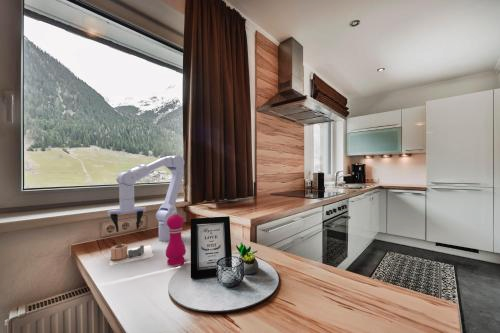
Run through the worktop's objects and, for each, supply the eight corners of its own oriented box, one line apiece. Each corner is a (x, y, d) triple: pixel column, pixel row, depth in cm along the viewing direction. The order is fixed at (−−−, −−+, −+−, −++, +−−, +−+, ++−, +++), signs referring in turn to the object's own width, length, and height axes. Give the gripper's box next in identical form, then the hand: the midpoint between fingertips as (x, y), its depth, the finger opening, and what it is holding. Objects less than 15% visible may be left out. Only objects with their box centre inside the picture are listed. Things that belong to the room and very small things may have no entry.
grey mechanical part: (143, 251, 93) (143, 245, 93) (144, 255, 89) (144, 248, 89) (128, 254, 90) (128, 247, 90) (128, 258, 86) (128, 251, 86)
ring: (127, 252, 90) (127, 243, 90) (126, 257, 85) (126, 247, 86) (112, 255, 88) (112, 245, 88) (110, 260, 83) (110, 249, 83)
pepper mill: (179, 268, 78) (178, 212, 78) (161, 267, 79) (160, 212, 80) (189, 260, 85) (188, 209, 85) (172, 259, 86) (171, 209, 87)
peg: (128, 254, 91) (127, 241, 91) (127, 258, 86) (127, 246, 86) (111, 257, 88) (111, 244, 88) (110, 262, 83) (109, 249, 83)
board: (150, 246, 101) (150, 245, 101) (153, 258, 87) (153, 256, 87) (112, 253, 94) (112, 251, 94) (109, 267, 80) (109, 265, 80)
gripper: (144, 196, 103) (145, 225, 103) (108, 199, 96) (108, 230, 95) (145, 198, 97) (146, 228, 96) (106, 201, 89) (107, 234, 89)
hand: (127, 229), depth 96 cm, fingers open, 7 cm apart
